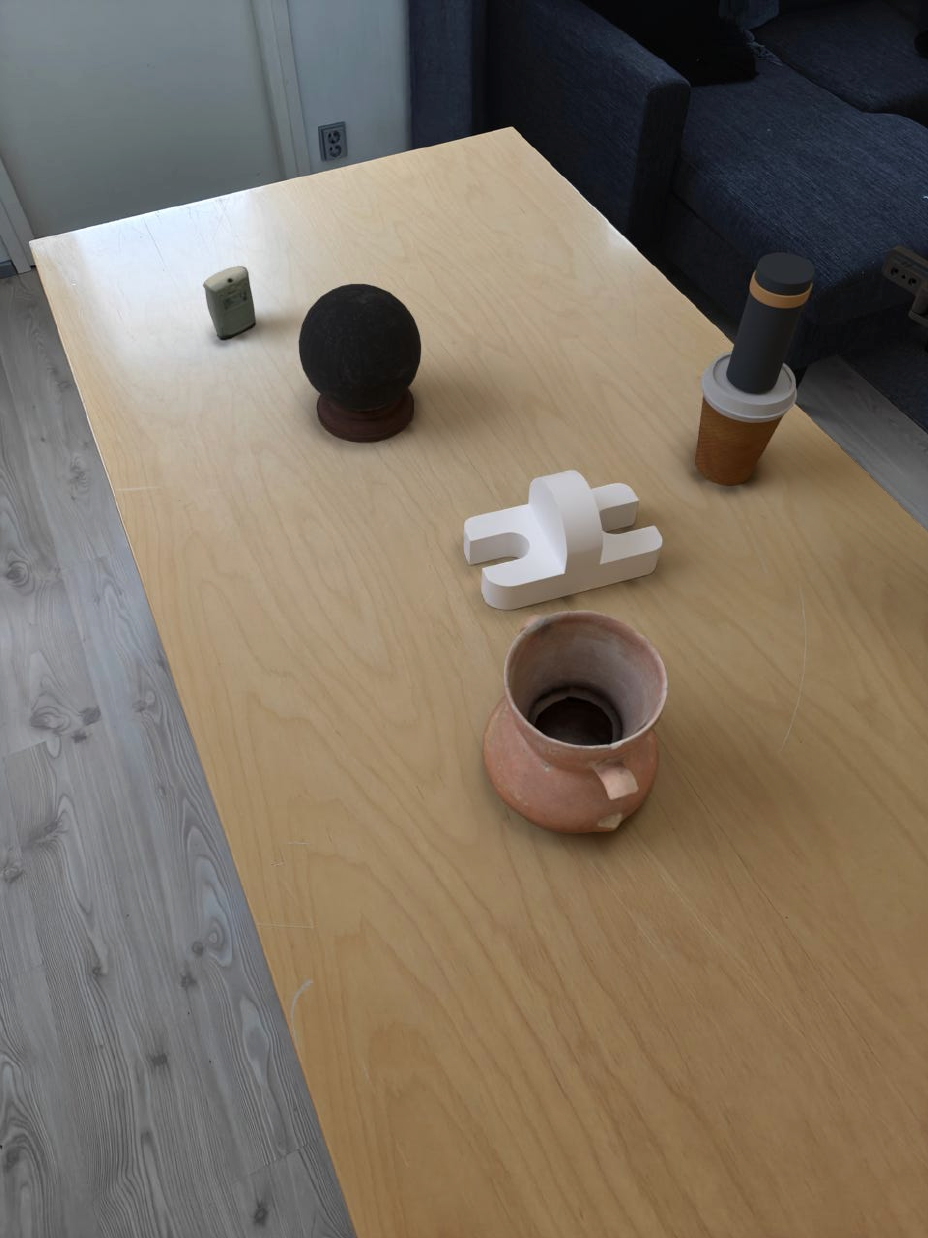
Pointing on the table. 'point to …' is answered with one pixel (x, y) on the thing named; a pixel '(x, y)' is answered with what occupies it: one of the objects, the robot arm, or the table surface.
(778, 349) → the dark cylindrical canister
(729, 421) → the disposable coffee cup
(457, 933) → the table surface
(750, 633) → the table surface
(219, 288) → the grey rounded block
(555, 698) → the ceramic jug
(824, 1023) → the table surface
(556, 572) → the u-slot mount
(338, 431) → the ball on stand
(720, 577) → the table surface
